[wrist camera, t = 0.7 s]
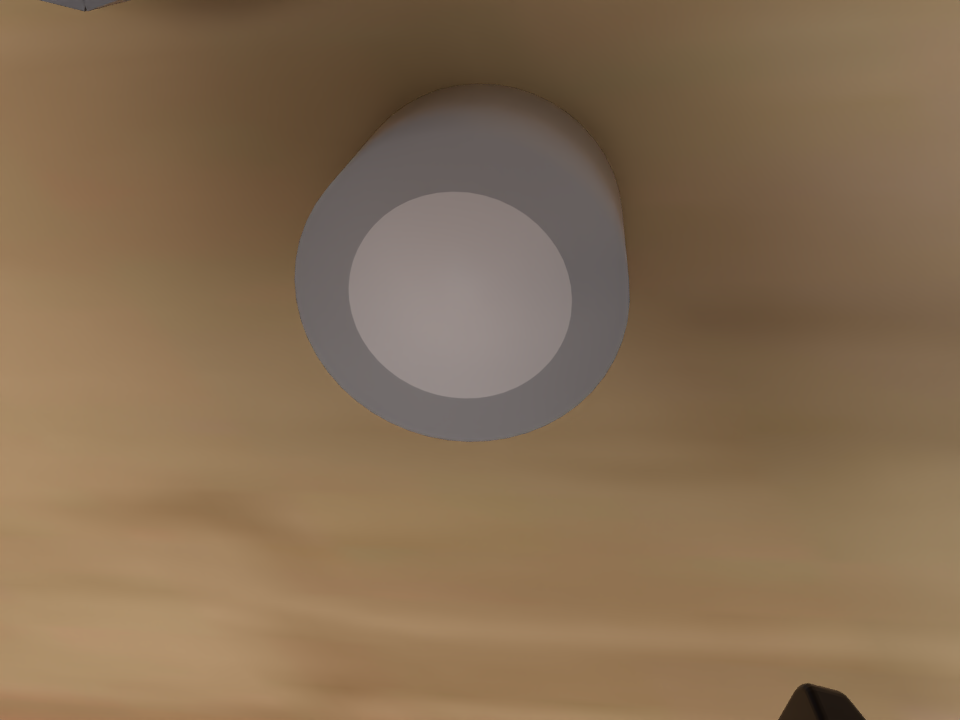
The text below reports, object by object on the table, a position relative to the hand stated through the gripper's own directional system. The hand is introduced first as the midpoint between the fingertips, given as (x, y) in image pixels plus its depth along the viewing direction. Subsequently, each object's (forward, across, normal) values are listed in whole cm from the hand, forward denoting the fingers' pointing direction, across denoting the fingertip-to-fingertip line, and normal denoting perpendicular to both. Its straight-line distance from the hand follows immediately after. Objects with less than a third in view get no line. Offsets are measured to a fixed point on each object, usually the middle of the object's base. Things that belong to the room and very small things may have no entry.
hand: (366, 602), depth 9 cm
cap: (+12, 0, 0) cm, 12 cm away
